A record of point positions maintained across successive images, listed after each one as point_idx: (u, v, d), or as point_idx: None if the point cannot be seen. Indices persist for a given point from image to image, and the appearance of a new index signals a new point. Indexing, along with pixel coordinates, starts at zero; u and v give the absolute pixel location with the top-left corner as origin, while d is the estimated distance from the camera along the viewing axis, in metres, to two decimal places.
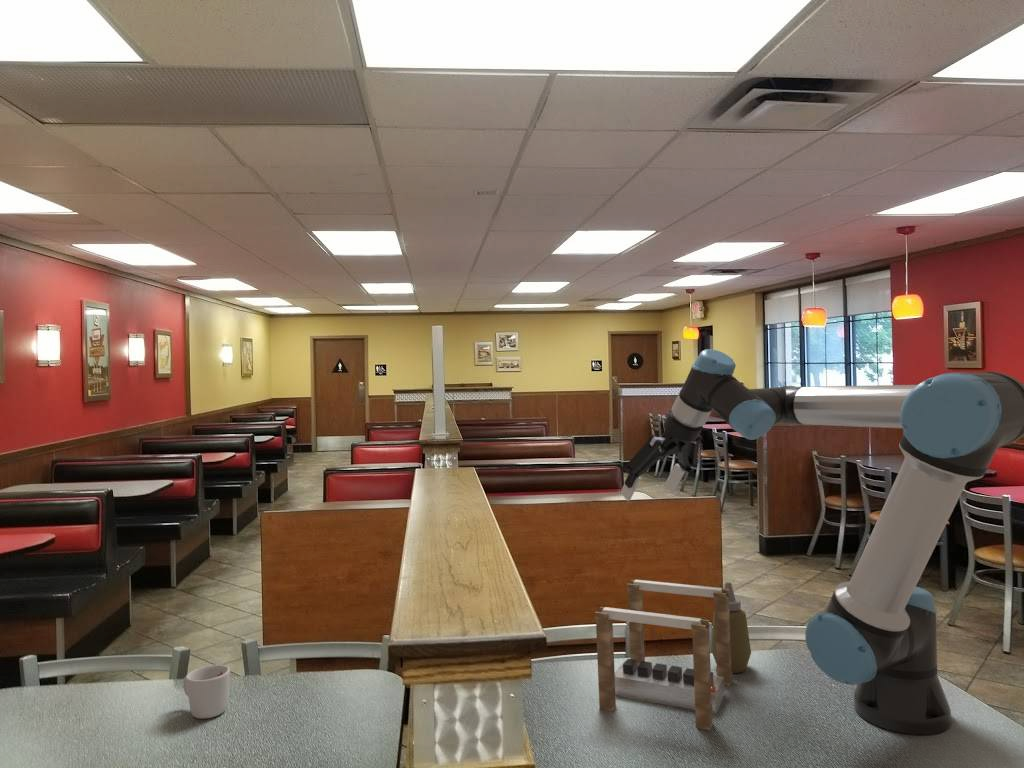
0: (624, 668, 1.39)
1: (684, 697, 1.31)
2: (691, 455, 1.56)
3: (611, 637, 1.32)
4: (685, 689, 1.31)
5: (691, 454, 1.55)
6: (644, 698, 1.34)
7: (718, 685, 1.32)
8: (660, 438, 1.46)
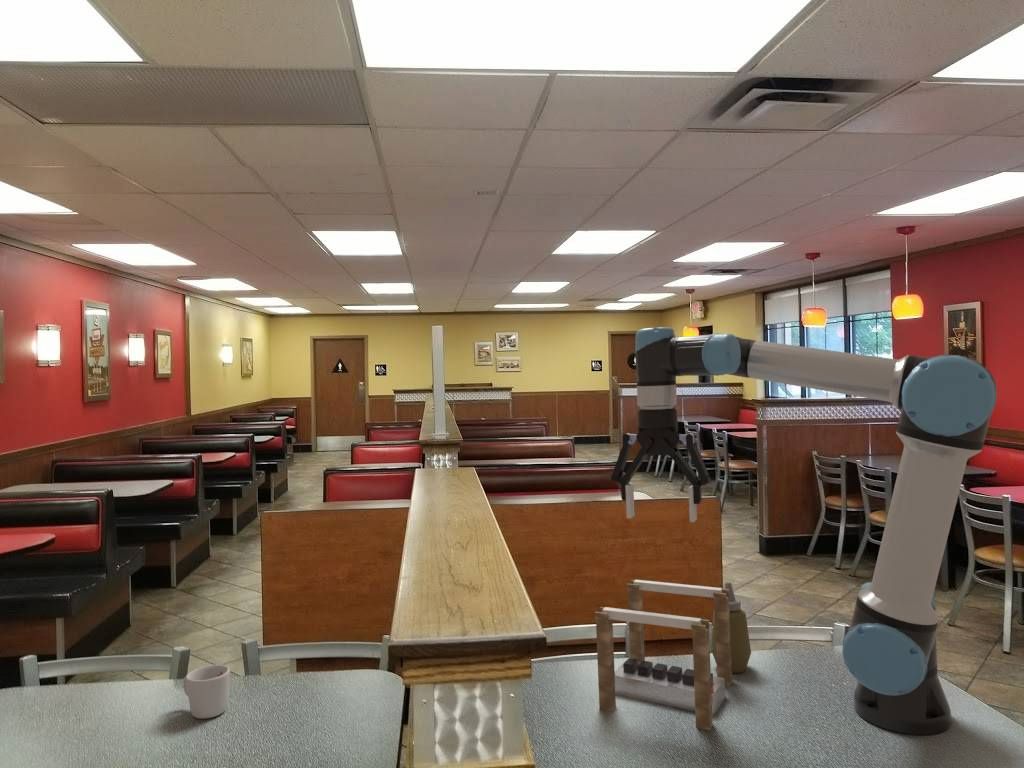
0: (624, 667, 1.39)
1: (682, 697, 1.31)
2: None
3: (611, 637, 1.32)
4: (684, 689, 1.30)
5: None
6: (643, 697, 1.35)
7: (717, 686, 1.31)
8: (633, 434, 1.38)
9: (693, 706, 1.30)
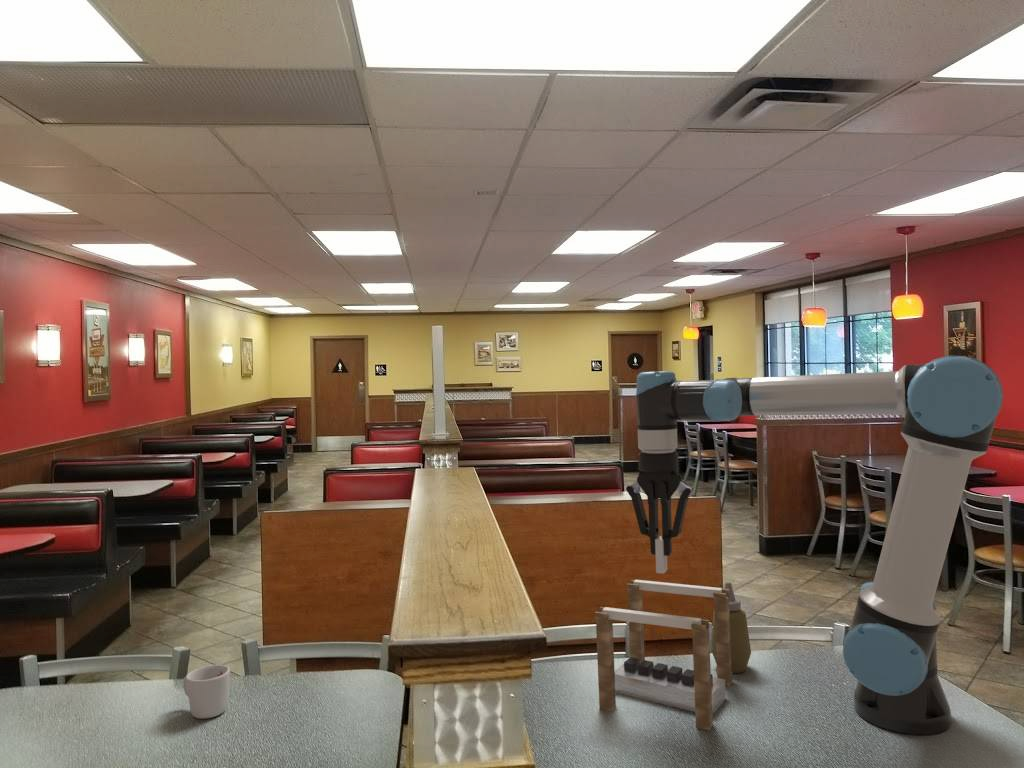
0: (625, 666, 1.40)
1: (680, 698, 1.31)
2: None
3: (611, 637, 1.32)
4: (682, 689, 1.30)
5: None
6: (642, 697, 1.35)
7: (716, 687, 1.31)
8: None
9: (691, 707, 1.29)
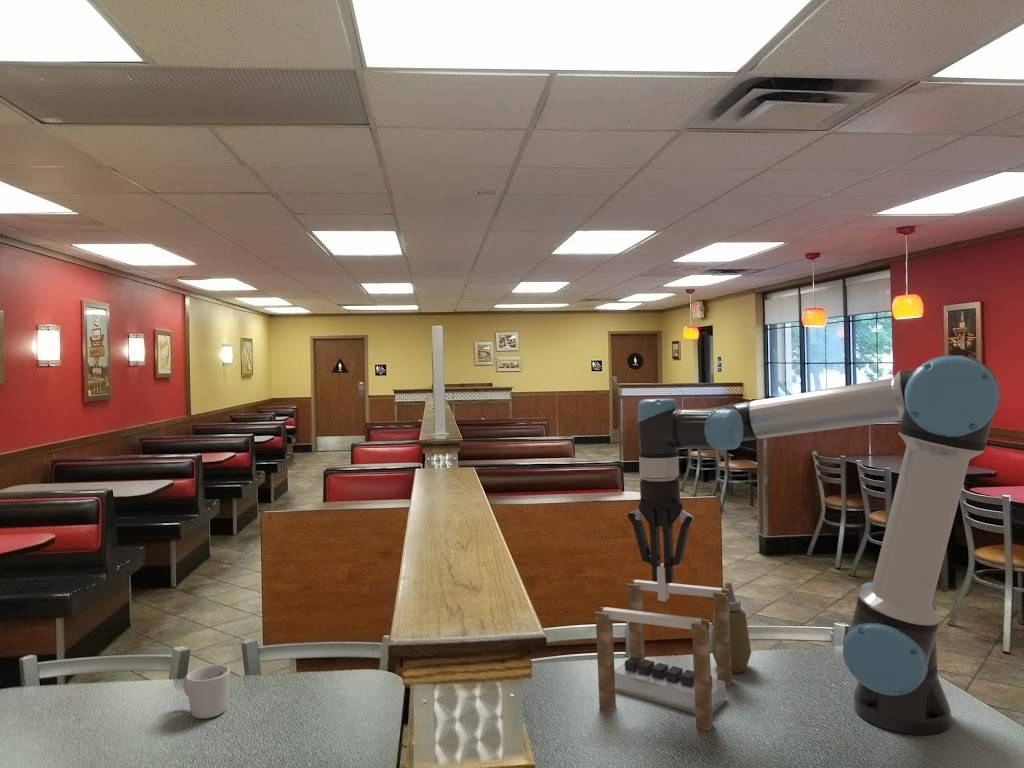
0: (626, 665, 1.40)
1: (678, 698, 1.31)
2: None
3: (611, 637, 1.32)
4: (680, 690, 1.30)
5: None
6: (642, 696, 1.35)
7: (715, 689, 1.30)
8: None
9: (689, 707, 1.29)
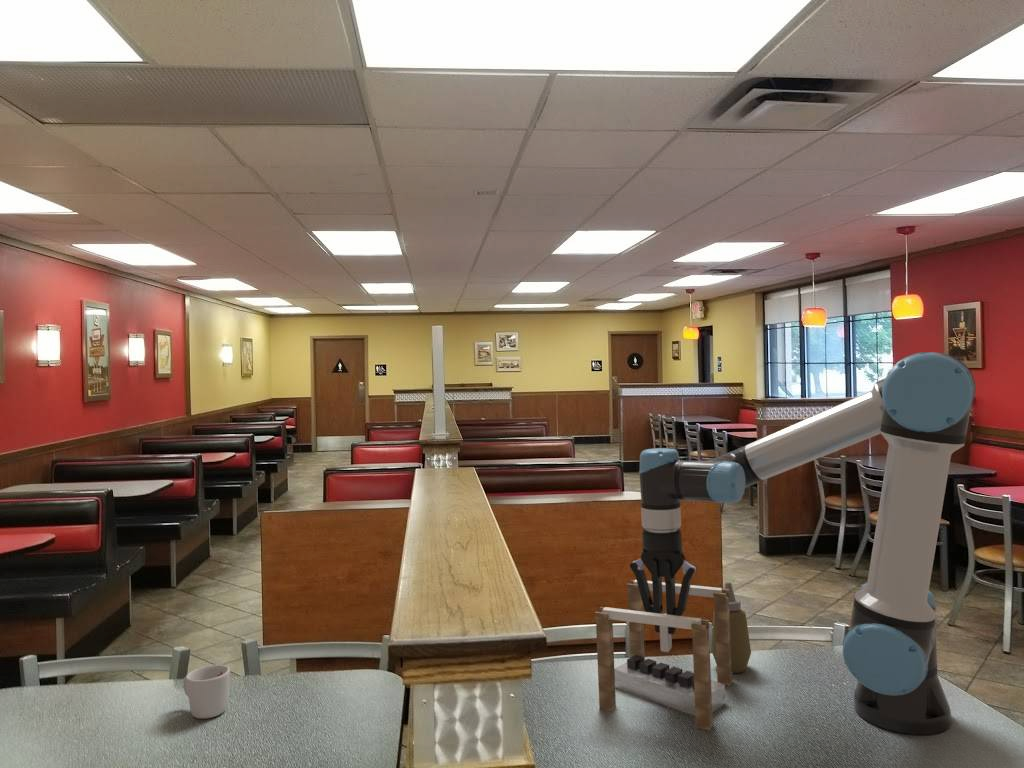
0: (628, 663, 1.41)
1: (675, 698, 1.30)
2: None
3: (611, 637, 1.32)
4: (676, 690, 1.30)
5: (680, 592, 1.34)
6: (641, 694, 1.36)
7: (712, 691, 1.29)
8: (638, 559, 1.38)
9: (684, 708, 1.29)
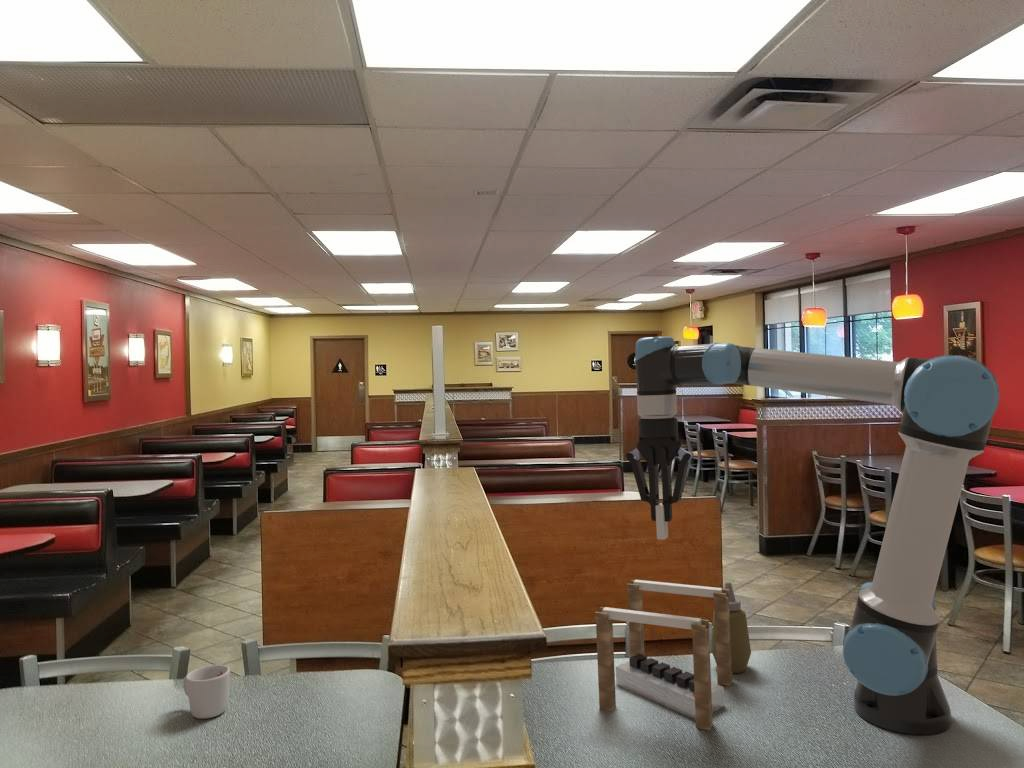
0: (630, 661, 1.42)
1: (671, 698, 1.31)
2: (676, 482, 1.34)
3: (611, 637, 1.32)
4: (672, 690, 1.30)
5: None
6: (640, 693, 1.37)
7: None
8: (634, 449, 1.38)
9: (680, 708, 1.29)
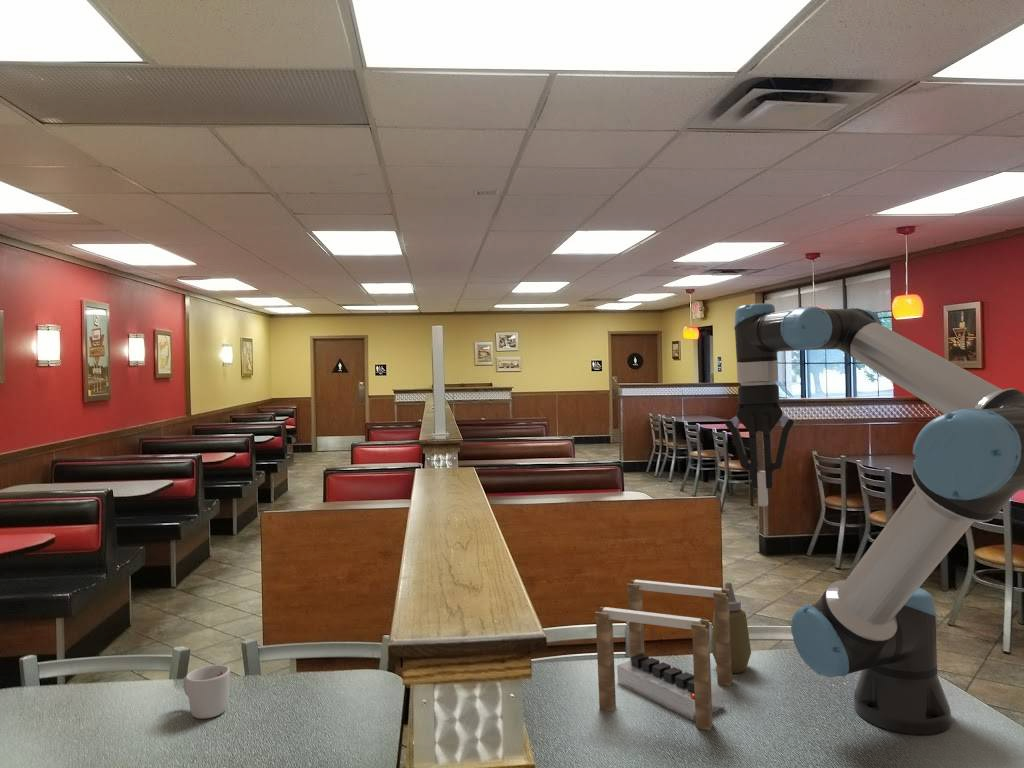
0: (632, 661, 1.42)
1: (669, 698, 1.31)
2: None
3: (611, 637, 1.32)
4: (670, 690, 1.30)
5: None
6: (640, 692, 1.37)
7: None
8: (733, 417, 1.38)
9: (677, 709, 1.29)
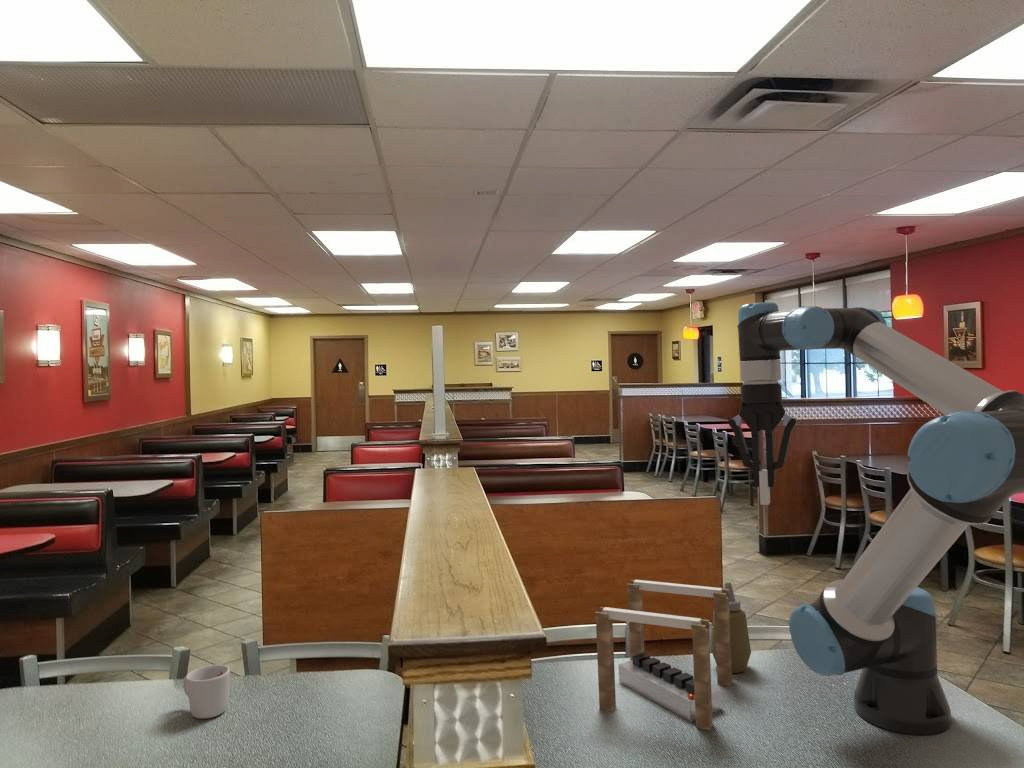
0: (633, 660, 1.43)
1: (667, 698, 1.31)
2: None
3: (611, 637, 1.32)
4: (668, 690, 1.30)
5: (781, 445, 1.34)
6: (640, 691, 1.37)
7: None
8: (735, 416, 1.39)
9: (675, 709, 1.29)
